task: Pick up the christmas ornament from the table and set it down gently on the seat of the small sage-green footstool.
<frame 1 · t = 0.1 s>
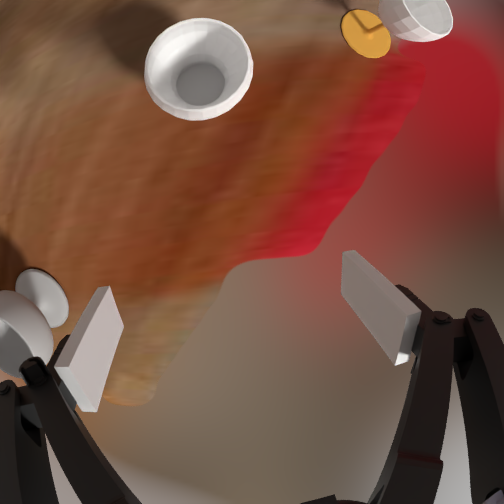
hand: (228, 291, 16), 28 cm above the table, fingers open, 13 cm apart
chalice: (42, 298, 44), on the table
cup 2: (366, 33, 35), on the table
cup: (201, 87, 36), on the table
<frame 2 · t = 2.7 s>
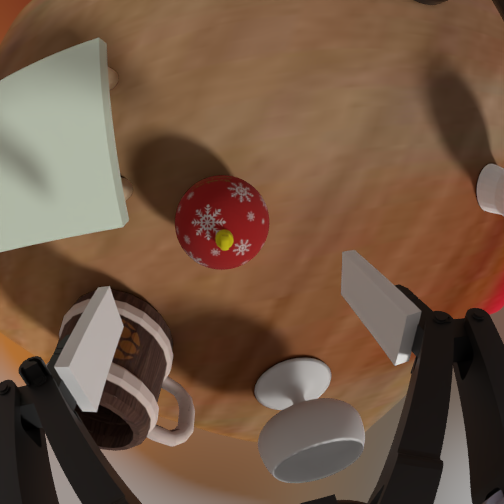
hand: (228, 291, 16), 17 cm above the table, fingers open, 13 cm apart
chalice: (292, 383, 43), on the table
cup: (489, 187, 35), on the table
christmas ornament: (220, 210, 32), on the table
footstool: (64, 147, 26), on the table
mug: (134, 343, 37), on the table
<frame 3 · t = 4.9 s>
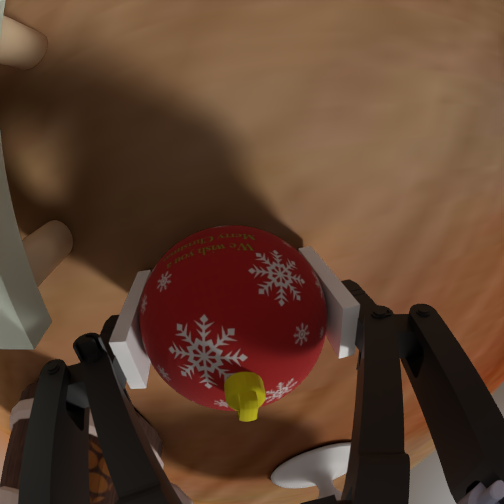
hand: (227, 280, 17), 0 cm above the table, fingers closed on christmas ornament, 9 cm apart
chalice: (318, 464, 29), on the table
christmas ornament: (226, 275, 18), on the table, touching gripper
mug: (111, 436, 23), on the table
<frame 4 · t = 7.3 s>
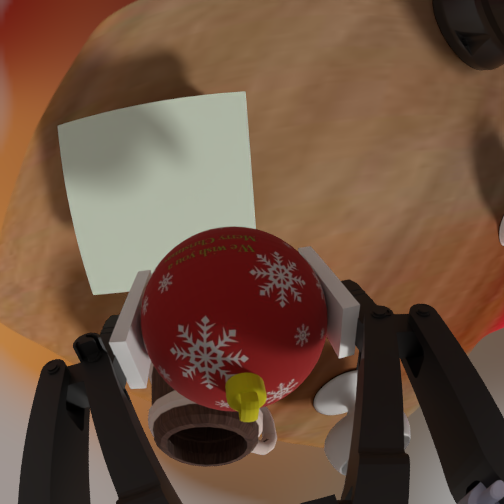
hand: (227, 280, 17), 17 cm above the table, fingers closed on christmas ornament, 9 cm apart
chalice: (344, 391, 48), on the table
christmas ornament: (227, 276, 18), point 16 cm above the table, touching gripper
footstool: (168, 184, 31), on the table
mug: (216, 365, 41), on the table
when the fingers open (10 cm above the table, at t = 9.8 s): christmas ornament drops 1 cm, resting on footstool.
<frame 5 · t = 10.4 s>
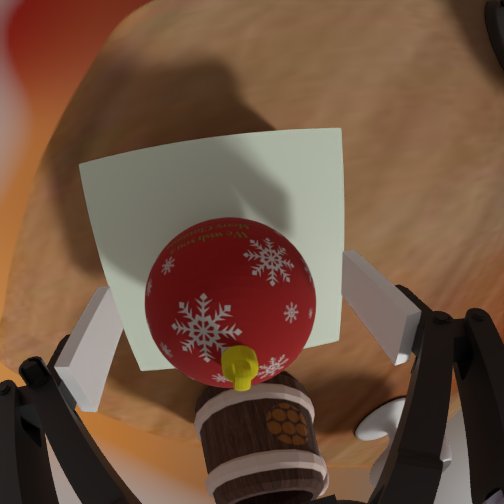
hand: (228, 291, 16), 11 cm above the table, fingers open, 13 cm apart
chalice: (384, 418, 43), on the table
christmas ornament: (224, 266, 19), point 8 cm above the table, touching footstool
footstool: (219, 228, 26), on the table
mug: (264, 410, 37), on the table
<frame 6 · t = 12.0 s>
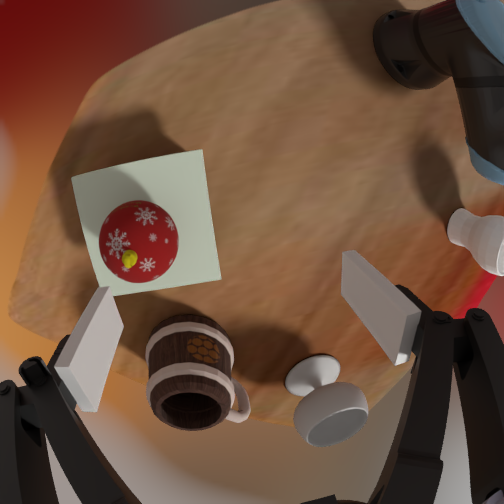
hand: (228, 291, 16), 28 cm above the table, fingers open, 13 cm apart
chalice: (312, 374, 59), on the table
cup: (457, 225, 52), on the table
christmas ornament: (145, 229, 34), point 8 cm above the table, touching footstool
footstool: (154, 212, 41), on the table
mug: (200, 352, 52), on the table
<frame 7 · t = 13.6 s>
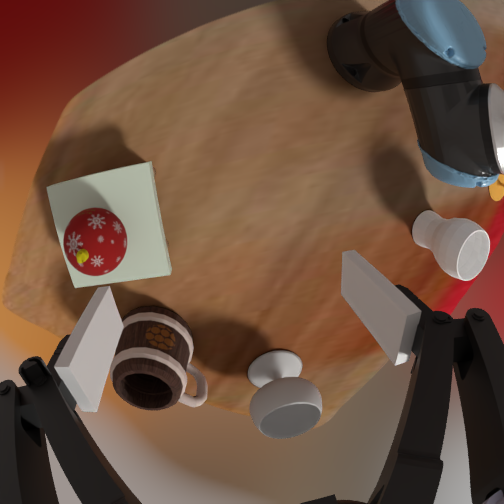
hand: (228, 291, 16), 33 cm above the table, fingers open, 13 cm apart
chalice: (274, 369, 62), on the table
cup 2: (497, 183, 54), on the table
cup: (425, 227, 55), on the table
christmas ornament: (105, 230, 38), point 8 cm above the table, touching footstool
footstool: (120, 215, 45), on the table
mug: (165, 341, 56), on the table
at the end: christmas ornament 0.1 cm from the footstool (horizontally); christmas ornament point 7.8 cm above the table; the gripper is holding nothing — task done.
